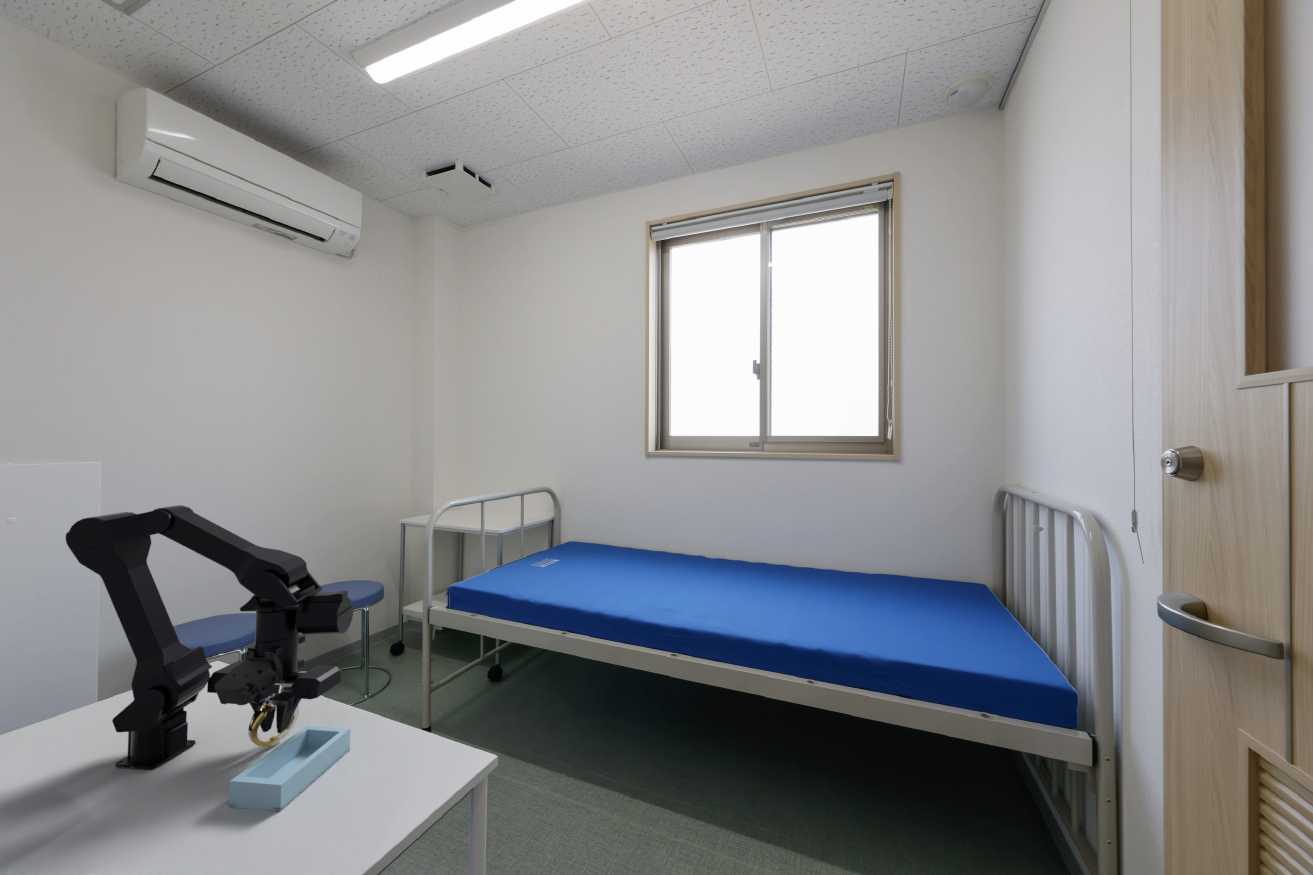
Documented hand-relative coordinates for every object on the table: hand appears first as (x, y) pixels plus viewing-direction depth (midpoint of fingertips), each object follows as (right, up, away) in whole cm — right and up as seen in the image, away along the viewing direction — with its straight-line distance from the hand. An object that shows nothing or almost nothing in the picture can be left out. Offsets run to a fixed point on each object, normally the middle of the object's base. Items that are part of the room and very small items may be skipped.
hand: (274, 731), depth 78 cm
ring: (0, -2, 0) cm, 2 cm away
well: (+8, -3, -7) cm, 11 cm away
